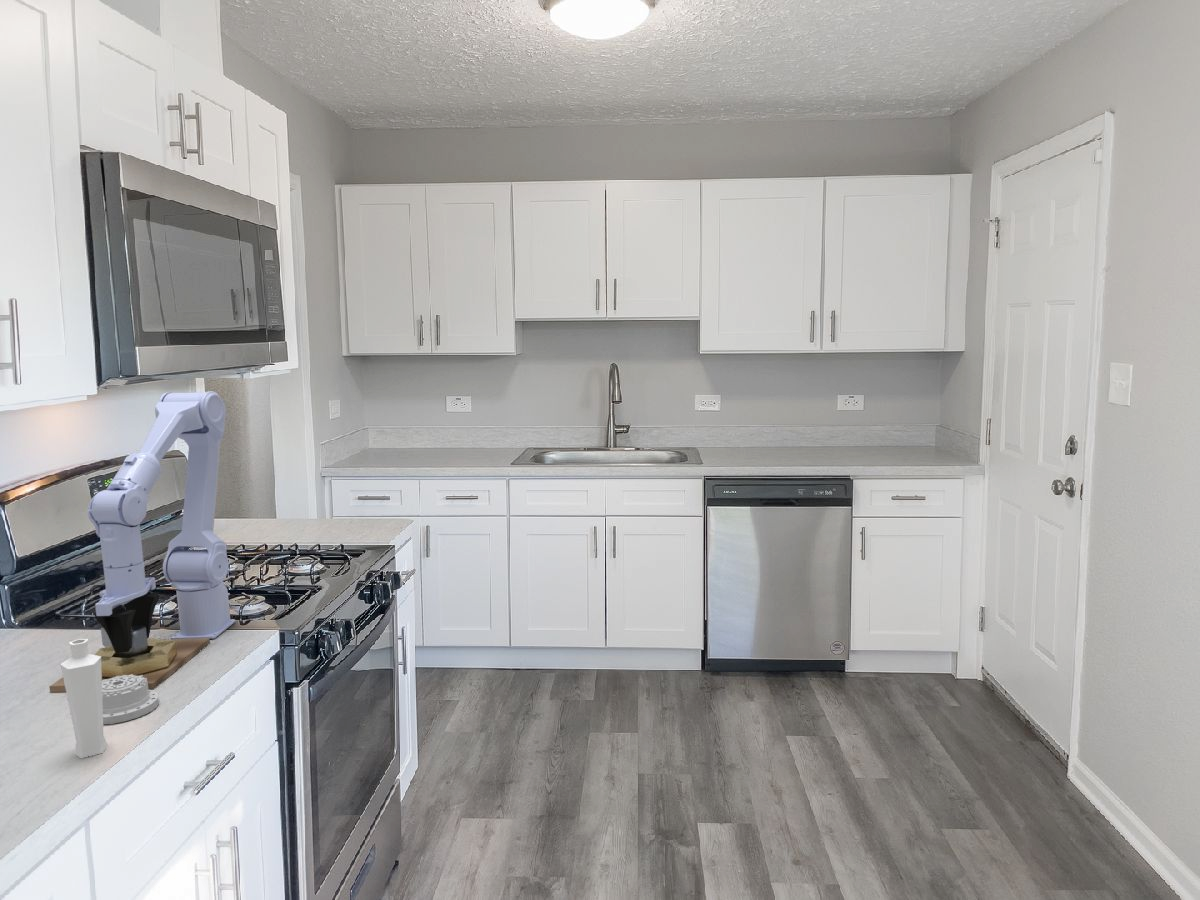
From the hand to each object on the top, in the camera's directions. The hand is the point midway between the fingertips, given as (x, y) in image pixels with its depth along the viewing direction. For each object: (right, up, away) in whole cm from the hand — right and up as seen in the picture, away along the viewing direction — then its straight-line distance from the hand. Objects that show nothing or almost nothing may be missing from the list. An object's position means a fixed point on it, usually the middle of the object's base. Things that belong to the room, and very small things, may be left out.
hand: (132, 644), depth 144 cm
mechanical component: (+6, -7, -15) cm, 17 cm away
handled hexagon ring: (-3, -3, +3) cm, 5 cm away
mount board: (-1, -4, +3) cm, 5 cm away
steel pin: (0, -3, 0) cm, 3 cm away
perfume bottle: (+9, -8, -27) cm, 30 cm away
